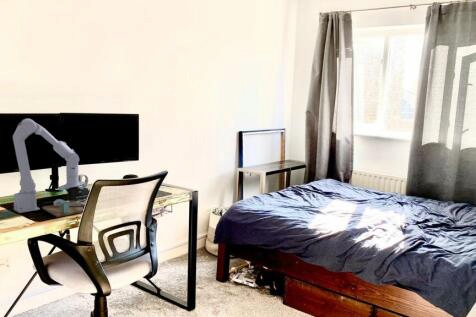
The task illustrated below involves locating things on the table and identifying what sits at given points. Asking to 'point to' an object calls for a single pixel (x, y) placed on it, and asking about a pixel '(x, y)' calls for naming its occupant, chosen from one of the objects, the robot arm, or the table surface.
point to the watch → (83, 189)
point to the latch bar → (73, 203)
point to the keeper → (63, 205)
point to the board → (58, 210)
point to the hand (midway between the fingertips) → (73, 201)
